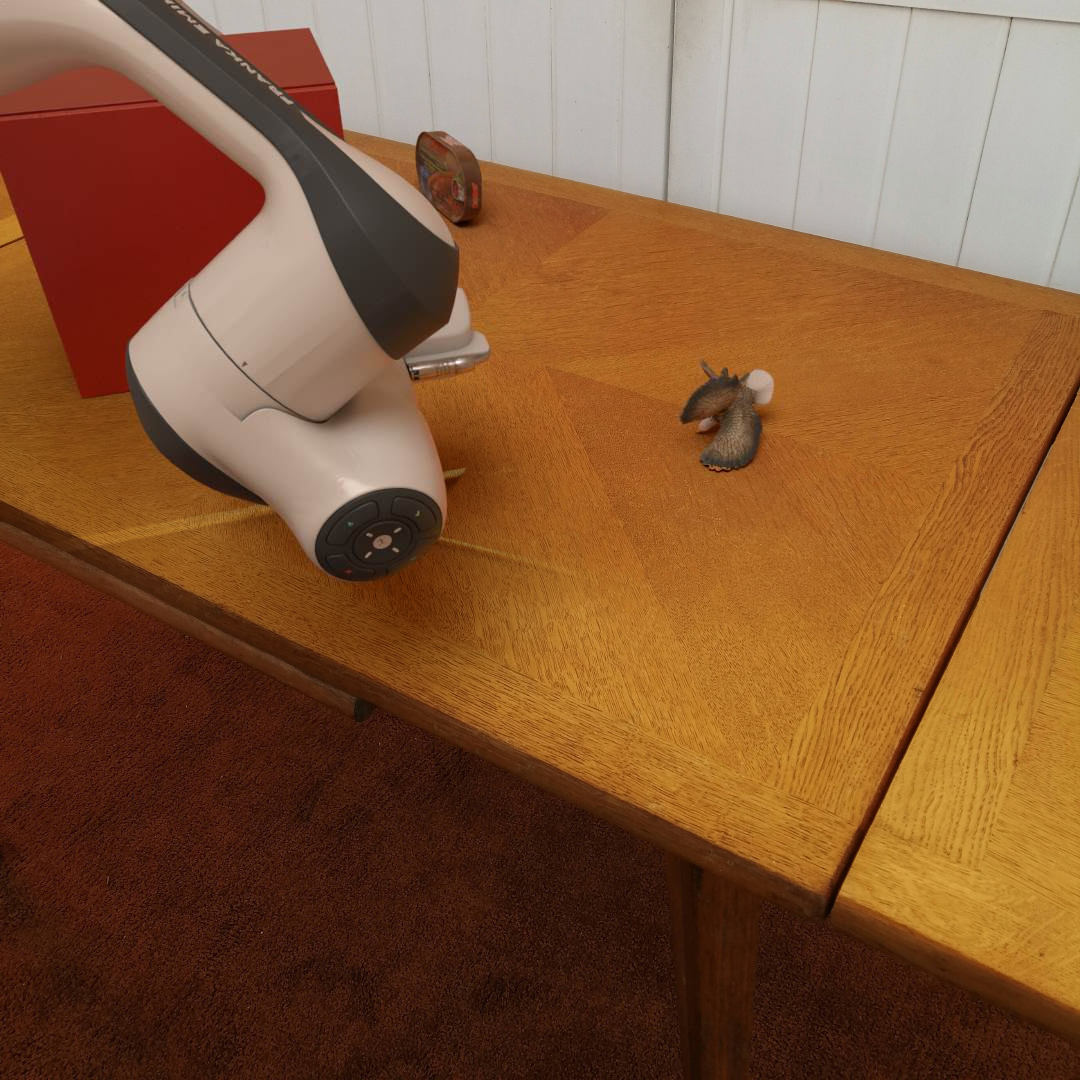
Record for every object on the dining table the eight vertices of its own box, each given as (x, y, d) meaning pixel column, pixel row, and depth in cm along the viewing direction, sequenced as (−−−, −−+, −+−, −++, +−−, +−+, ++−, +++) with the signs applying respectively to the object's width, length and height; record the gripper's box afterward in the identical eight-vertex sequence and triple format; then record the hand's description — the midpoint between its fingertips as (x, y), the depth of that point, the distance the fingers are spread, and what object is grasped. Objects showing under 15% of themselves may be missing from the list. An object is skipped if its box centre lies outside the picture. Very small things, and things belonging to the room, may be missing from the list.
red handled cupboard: (382, 382, 92) (347, 108, 76) (78, 430, 86) (-28, 146, 70) (371, 348, 96) (335, 84, 81) (82, 393, 91) (-16, 118, 75)
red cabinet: (371, 348, 97) (335, 81, 81) (83, 393, 91) (-17, 115, 75) (345, 270, 110) (309, 27, 94) (92, 304, 104) (8, 52, 88)
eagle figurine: (671, 393, 88) (655, 432, 80) (724, 332, 84) (713, 367, 76) (738, 446, 88) (728, 490, 81) (793, 388, 85) (789, 428, 77)
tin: (415, 191, 127) (409, 122, 121) (438, 186, 128) (433, 118, 123) (464, 234, 117) (459, 161, 111) (488, 229, 118) (485, 156, 112)
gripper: (496, 320, 64) (449, 234, 74) (164, 369, 60) (163, 271, 70) (499, 404, 68) (454, 312, 78) (189, 455, 64) (184, 351, 74)
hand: (315, 293), depth 74 cm, fingers open, 8 cm apart
